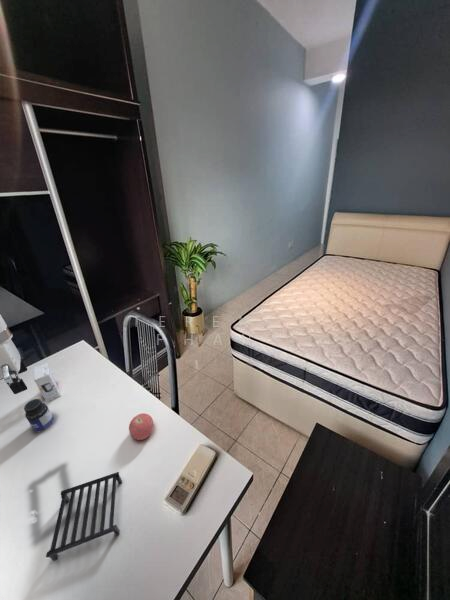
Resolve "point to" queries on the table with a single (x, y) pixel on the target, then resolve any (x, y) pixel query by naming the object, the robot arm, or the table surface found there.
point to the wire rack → (85, 514)
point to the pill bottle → (38, 415)
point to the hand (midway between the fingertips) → (21, 381)
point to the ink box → (46, 382)
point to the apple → (141, 426)
